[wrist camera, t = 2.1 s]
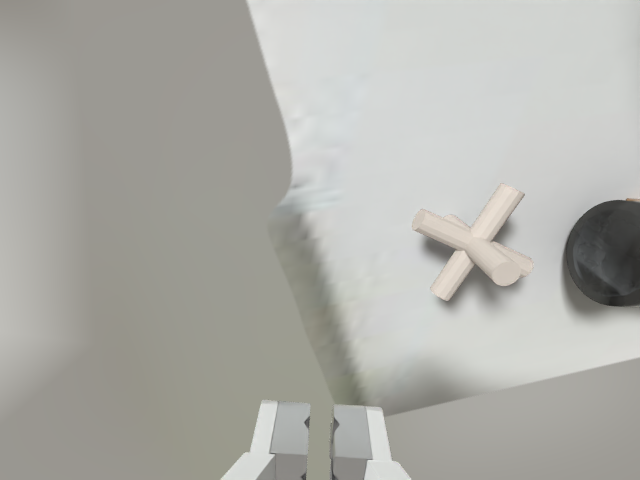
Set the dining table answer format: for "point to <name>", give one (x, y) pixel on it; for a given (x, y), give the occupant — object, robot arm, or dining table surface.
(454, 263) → the beige crossed rods piece
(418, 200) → the dining table surface
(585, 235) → the lidded storage canister
